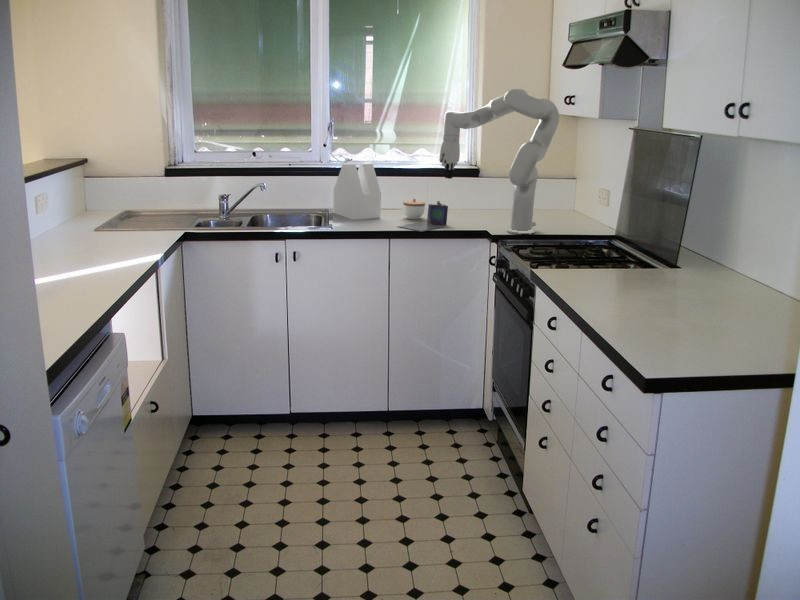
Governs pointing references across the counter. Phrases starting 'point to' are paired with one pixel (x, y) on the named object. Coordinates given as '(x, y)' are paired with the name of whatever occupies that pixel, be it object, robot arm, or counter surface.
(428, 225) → the slate board
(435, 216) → the blue clover wallet
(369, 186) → the grey notched block
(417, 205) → the lidded jar
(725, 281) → the counter surface
